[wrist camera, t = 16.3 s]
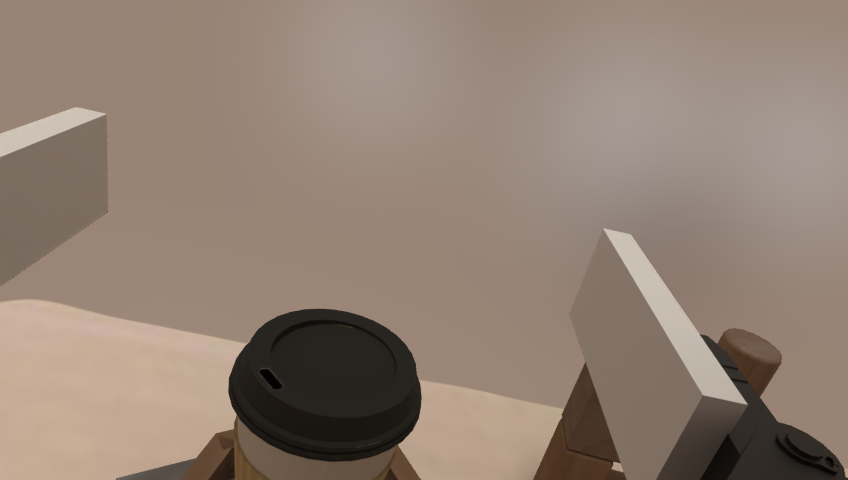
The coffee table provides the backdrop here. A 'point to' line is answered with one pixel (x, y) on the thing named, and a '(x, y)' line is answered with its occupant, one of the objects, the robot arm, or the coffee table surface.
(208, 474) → the cup collar
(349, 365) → the coffee cup
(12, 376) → the coffee table surface
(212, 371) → the coffee table surface
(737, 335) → the wooden block
